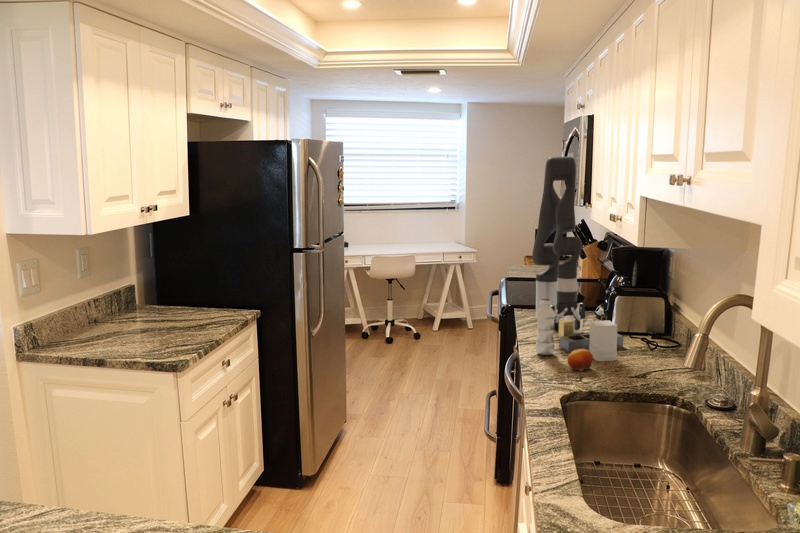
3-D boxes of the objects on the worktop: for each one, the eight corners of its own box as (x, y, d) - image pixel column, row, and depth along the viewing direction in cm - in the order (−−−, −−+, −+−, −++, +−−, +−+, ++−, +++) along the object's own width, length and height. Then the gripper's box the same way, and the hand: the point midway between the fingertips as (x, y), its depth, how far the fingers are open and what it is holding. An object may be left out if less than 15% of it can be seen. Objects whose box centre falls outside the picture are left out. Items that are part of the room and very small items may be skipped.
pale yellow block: (558, 340, 247) (559, 319, 245) (568, 339, 247) (568, 319, 246) (563, 342, 243) (563, 322, 241) (573, 341, 244) (573, 321, 242)
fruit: (583, 371, 206) (575, 347, 208) (568, 377, 212) (560, 354, 215) (602, 367, 209) (593, 344, 212) (587, 373, 216) (579, 350, 218)
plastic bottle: (539, 350, 234) (540, 297, 230) (557, 353, 230) (558, 299, 227) (532, 355, 229) (532, 300, 225) (550, 358, 225) (551, 302, 221)
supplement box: (617, 360, 220) (618, 325, 218) (596, 361, 220) (596, 326, 217) (608, 354, 227) (609, 319, 225) (588, 355, 227) (589, 320, 225)
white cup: (581, 329, 261) (582, 305, 259) (585, 334, 253) (585, 309, 252) (561, 329, 262) (562, 305, 260) (564, 334, 254) (565, 309, 252)
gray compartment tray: (559, 347, 237) (559, 336, 237) (612, 341, 242) (612, 331, 242) (568, 352, 231) (568, 341, 230) (623, 346, 236) (623, 336, 235)
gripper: (579, 286, 247) (578, 327, 249) (545, 288, 244) (544, 330, 246) (589, 289, 240) (588, 331, 242) (554, 292, 236) (553, 334, 239)
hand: (566, 330), depth 244 cm, fingers open, 8 cm apart
